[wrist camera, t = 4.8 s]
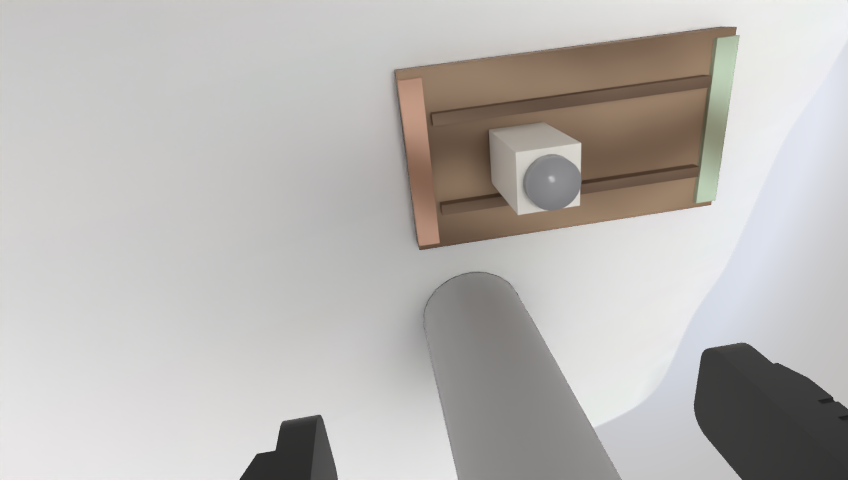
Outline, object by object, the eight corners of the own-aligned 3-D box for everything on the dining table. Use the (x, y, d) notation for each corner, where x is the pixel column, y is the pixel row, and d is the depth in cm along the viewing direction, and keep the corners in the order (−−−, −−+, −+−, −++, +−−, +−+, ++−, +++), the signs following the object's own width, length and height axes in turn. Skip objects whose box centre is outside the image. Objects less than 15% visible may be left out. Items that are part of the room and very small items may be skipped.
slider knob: (488, 129, 26) (521, 157, 21) (543, 121, 26) (589, 147, 21) (491, 182, 27) (523, 221, 22) (543, 175, 28) (587, 211, 22)
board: (394, 70, 26) (397, 73, 24) (721, 26, 27) (744, 27, 25) (417, 241, 30) (420, 254, 28) (698, 198, 31) (717, 208, 29)
